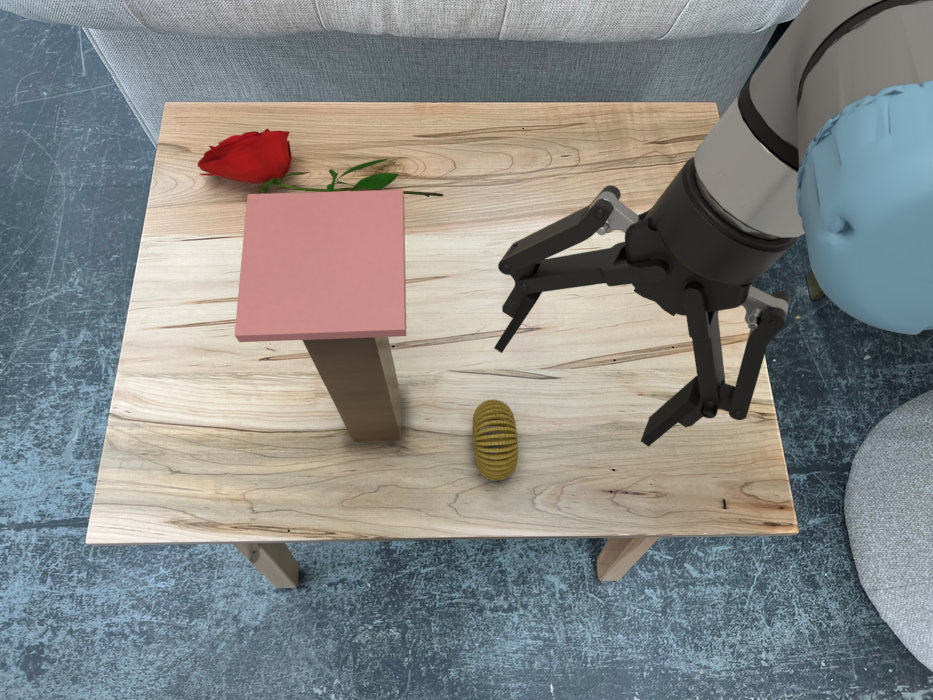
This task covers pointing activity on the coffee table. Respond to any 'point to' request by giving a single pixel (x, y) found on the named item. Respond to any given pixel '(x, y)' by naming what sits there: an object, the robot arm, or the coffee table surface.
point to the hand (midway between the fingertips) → (576, 385)
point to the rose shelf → (322, 266)
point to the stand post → (361, 384)
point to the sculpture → (495, 440)
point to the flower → (276, 164)
